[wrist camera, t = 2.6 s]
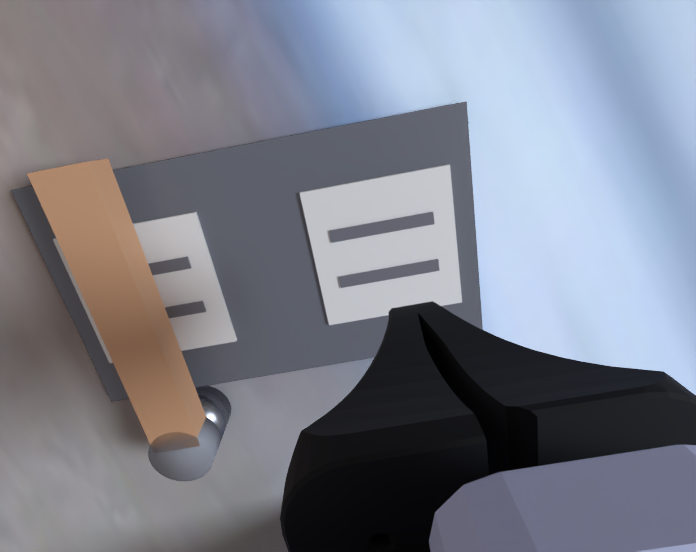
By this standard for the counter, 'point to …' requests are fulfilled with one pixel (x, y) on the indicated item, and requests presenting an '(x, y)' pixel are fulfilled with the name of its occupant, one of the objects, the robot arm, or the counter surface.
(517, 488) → the robot arm
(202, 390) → the shiny grey curved piece
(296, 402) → the counter surface
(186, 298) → the panel
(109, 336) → the bar
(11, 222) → the counter surface
